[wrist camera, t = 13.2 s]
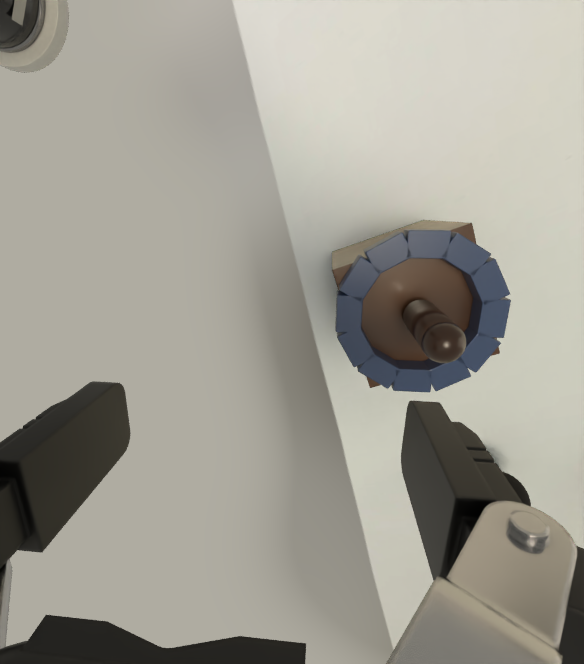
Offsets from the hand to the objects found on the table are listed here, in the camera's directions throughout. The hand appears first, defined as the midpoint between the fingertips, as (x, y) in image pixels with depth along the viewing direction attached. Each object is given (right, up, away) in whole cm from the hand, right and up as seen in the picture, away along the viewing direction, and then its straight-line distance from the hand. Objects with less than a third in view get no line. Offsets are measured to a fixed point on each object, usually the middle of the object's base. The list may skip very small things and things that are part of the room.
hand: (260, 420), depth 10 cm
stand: (+12, +8, +30) cm, 34 cm away
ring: (+10, +4, +17) cm, 20 cm away
